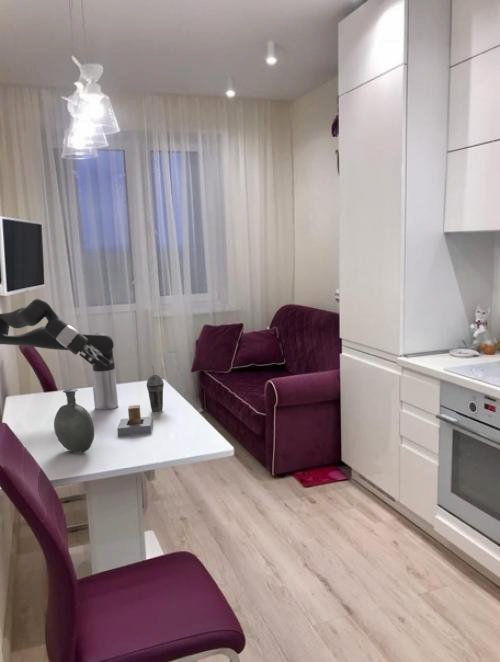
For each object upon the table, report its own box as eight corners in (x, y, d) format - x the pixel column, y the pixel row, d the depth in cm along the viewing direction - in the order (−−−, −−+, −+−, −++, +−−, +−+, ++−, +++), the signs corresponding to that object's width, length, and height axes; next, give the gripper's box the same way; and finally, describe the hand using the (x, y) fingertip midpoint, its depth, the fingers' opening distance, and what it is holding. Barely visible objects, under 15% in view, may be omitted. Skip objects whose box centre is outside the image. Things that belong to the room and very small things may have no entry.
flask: (88, 442, 188) (82, 382, 185) (99, 456, 174) (93, 391, 171) (54, 449, 183) (47, 387, 180) (63, 464, 168) (56, 397, 165)
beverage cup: (167, 408, 227) (164, 363, 224) (163, 413, 220) (159, 366, 217) (151, 408, 228) (147, 363, 225) (146, 413, 221) (142, 367, 218)
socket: (117, 436, 193) (117, 428, 193) (121, 426, 205) (121, 418, 204) (151, 433, 194) (150, 425, 194) (152, 423, 206) (152, 416, 206)
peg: (130, 431, 198) (128, 408, 196) (130, 428, 201) (129, 405, 200) (140, 430, 198) (139, 407, 197) (141, 427, 202) (139, 404, 201)
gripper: (70, 344, 204) (103, 370, 207) (61, 350, 190) (97, 377, 193) (82, 329, 204) (115, 355, 207) (74, 334, 190) (110, 362, 193)
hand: (107, 366), depth 200 cm, fingers open, 8 cm apart
